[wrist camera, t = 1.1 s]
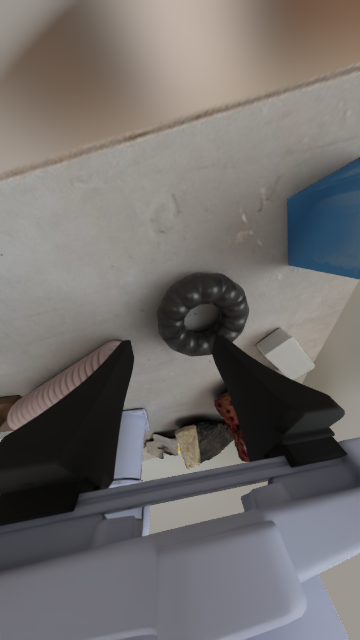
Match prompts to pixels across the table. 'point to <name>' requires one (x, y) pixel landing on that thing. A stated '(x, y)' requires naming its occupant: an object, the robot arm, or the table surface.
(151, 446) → the diorama
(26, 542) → the robot arm
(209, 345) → the ribbed ring
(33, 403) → the coil
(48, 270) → the table surface
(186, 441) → the mineral specimen
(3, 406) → the peg rack
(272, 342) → the multiport hub
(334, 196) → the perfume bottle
